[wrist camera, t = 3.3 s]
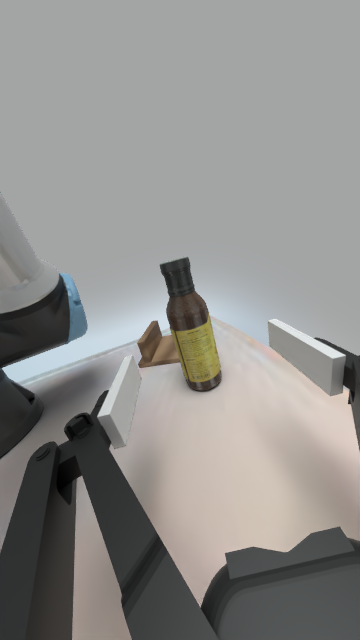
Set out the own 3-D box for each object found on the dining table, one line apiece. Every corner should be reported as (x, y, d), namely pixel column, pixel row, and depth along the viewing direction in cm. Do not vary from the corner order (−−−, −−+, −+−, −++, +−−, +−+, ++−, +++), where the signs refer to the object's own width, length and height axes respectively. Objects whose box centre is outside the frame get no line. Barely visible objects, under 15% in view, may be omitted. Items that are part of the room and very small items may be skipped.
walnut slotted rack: (139, 367, 37) (130, 344, 35) (153, 341, 48) (146, 322, 46) (202, 358, 35) (196, 332, 33) (201, 333, 46) (197, 312, 44)
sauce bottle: (230, 375, 28) (208, 250, 22) (205, 399, 25) (171, 260, 18) (202, 363, 33) (177, 258, 27) (178, 382, 30) (143, 267, 23)
